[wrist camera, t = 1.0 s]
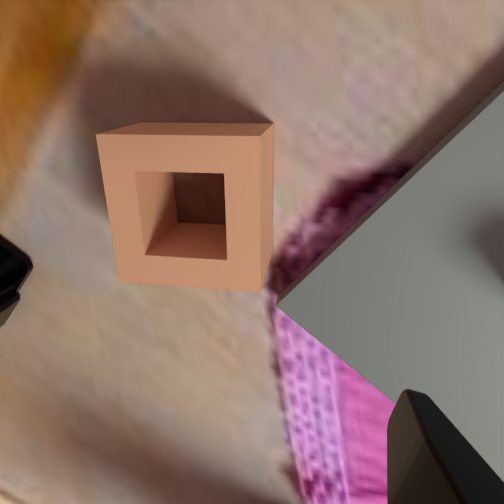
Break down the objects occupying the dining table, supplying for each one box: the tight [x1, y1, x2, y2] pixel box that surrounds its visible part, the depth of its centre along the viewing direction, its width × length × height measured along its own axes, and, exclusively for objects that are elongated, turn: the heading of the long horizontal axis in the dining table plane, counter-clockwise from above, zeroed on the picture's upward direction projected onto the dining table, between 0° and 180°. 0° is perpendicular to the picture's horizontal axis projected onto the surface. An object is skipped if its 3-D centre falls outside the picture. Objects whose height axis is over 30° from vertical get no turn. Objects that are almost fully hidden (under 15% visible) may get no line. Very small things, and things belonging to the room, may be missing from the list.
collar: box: [96, 122, 274, 292], centre depth 17 cm, size 6×6×4 cm
